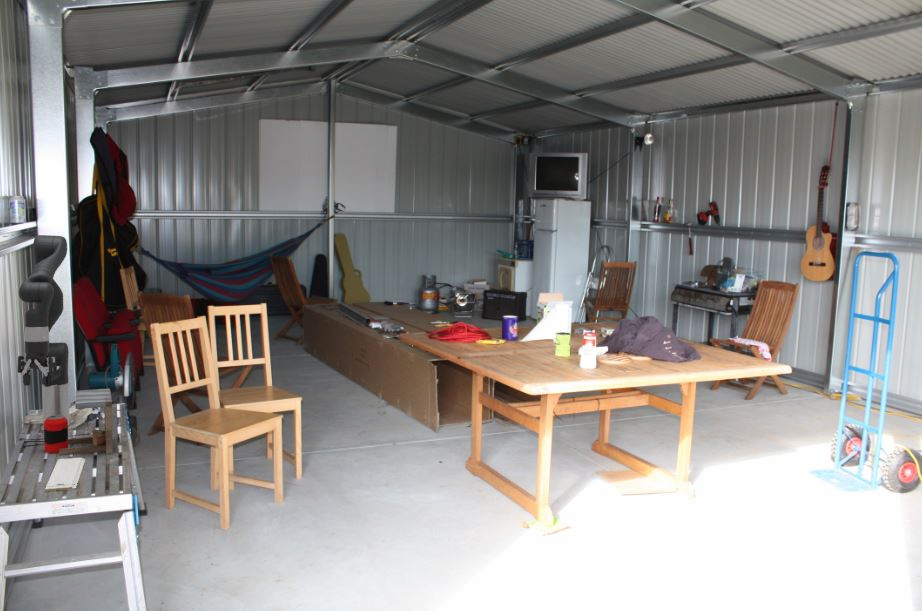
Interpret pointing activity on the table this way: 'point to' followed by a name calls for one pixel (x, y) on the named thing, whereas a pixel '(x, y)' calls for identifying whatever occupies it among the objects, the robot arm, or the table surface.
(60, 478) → the baseboard
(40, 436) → the table surface
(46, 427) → the soda can
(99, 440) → the overhang shelf
